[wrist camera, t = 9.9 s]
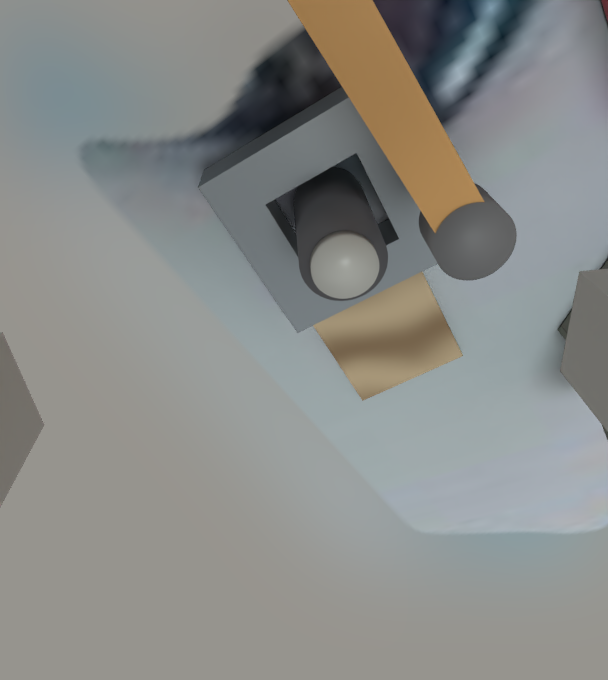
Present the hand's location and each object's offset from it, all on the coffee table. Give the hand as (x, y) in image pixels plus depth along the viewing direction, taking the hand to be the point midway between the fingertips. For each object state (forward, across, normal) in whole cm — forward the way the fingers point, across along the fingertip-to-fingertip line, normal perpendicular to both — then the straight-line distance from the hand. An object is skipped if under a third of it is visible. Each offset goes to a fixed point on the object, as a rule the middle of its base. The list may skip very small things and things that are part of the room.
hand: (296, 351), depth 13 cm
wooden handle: (+15, +5, +2) cm, 16 cm away
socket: (+25, +3, -5) cm, 26 cm away
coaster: (+26, +7, -16) cm, 31 cm away
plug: (+25, +3, -5) cm, 26 cm away
